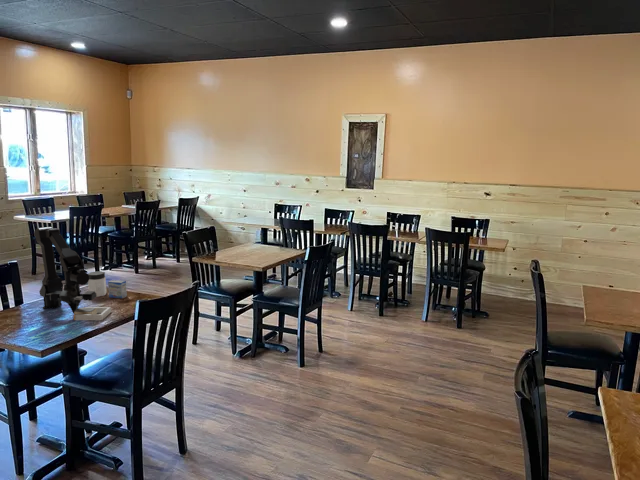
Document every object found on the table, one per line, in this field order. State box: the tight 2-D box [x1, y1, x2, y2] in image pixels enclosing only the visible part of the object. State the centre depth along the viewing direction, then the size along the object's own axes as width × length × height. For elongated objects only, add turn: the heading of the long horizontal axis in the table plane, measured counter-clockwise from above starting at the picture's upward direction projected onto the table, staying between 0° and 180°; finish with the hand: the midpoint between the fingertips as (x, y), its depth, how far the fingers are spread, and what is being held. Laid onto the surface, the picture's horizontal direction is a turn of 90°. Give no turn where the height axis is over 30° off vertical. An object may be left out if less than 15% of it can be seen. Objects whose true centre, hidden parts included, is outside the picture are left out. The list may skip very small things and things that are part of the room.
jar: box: [87, 270, 107, 298], centre depth 251 cm, size 9×8×12 cm
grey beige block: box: [73, 307, 98, 315], centre depth 218 cm, size 8×5×4 cm, turn 93°
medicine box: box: [107, 279, 128, 299], centre depth 248 cm, size 8×4×9 cm, turn 81°
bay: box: [73, 306, 112, 321], centre depth 219 cm, size 12×11×2 cm
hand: (74, 313), depth 218 cm, fingers closed
